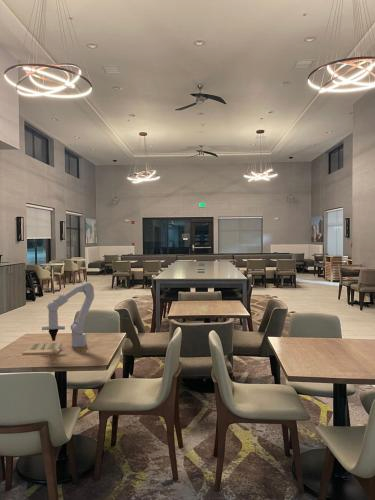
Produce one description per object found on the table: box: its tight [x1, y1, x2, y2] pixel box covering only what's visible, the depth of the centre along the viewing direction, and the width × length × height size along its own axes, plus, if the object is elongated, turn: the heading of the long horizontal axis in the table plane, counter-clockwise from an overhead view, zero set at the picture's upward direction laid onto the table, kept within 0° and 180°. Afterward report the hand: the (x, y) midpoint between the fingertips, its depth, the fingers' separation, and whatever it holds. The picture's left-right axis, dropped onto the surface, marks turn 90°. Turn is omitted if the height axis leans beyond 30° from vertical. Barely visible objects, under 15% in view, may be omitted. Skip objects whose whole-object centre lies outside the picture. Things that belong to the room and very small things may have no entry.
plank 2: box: [44, 342, 63, 350], centre depth 266 cm, size 10×6×1 cm, turn 91°
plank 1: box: [26, 342, 46, 350], centre depth 266 cm, size 10×6×1 cm, turn 91°
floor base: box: [22, 347, 64, 356], centre depth 264 cm, size 22×14×2 cm, turn 91°
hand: (53, 340), depth 268 cm, fingers closed
